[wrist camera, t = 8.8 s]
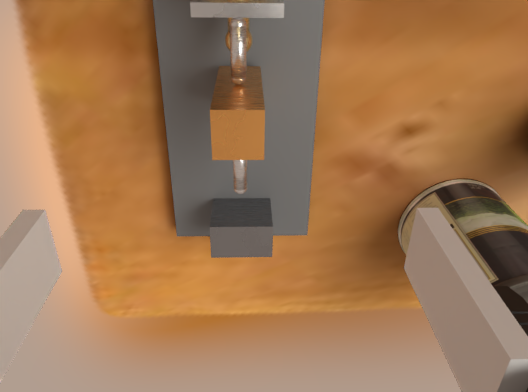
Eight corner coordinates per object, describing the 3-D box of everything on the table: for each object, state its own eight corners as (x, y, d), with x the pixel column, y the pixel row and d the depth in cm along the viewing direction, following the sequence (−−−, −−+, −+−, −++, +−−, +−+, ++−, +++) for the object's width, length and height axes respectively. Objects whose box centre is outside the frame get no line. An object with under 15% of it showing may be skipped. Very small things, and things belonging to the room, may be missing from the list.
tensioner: (213, 198, 39) (209, 227, 35) (270, 198, 39) (272, 226, 35) (214, 226, 41) (211, 257, 37) (269, 226, 41) (272, 256, 37)
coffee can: (483, 157, 40) (588, 255, 28) (516, 237, 44) (619, 350, 32) (378, 211, 42) (432, 323, 30) (420, 281, 47) (481, 403, 35)
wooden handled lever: (198, -8, 30) (180, 13, 22) (278, -7, 30) (290, 14, 22) (208, 164, 37) (196, 231, 28) (274, 164, 37) (282, 231, 28)
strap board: (146, -103, 29) (142, -104, 28) (328, -99, 30) (332, -101, 28) (179, 227, 42) (176, 236, 41) (305, 226, 43) (307, 235, 41)
